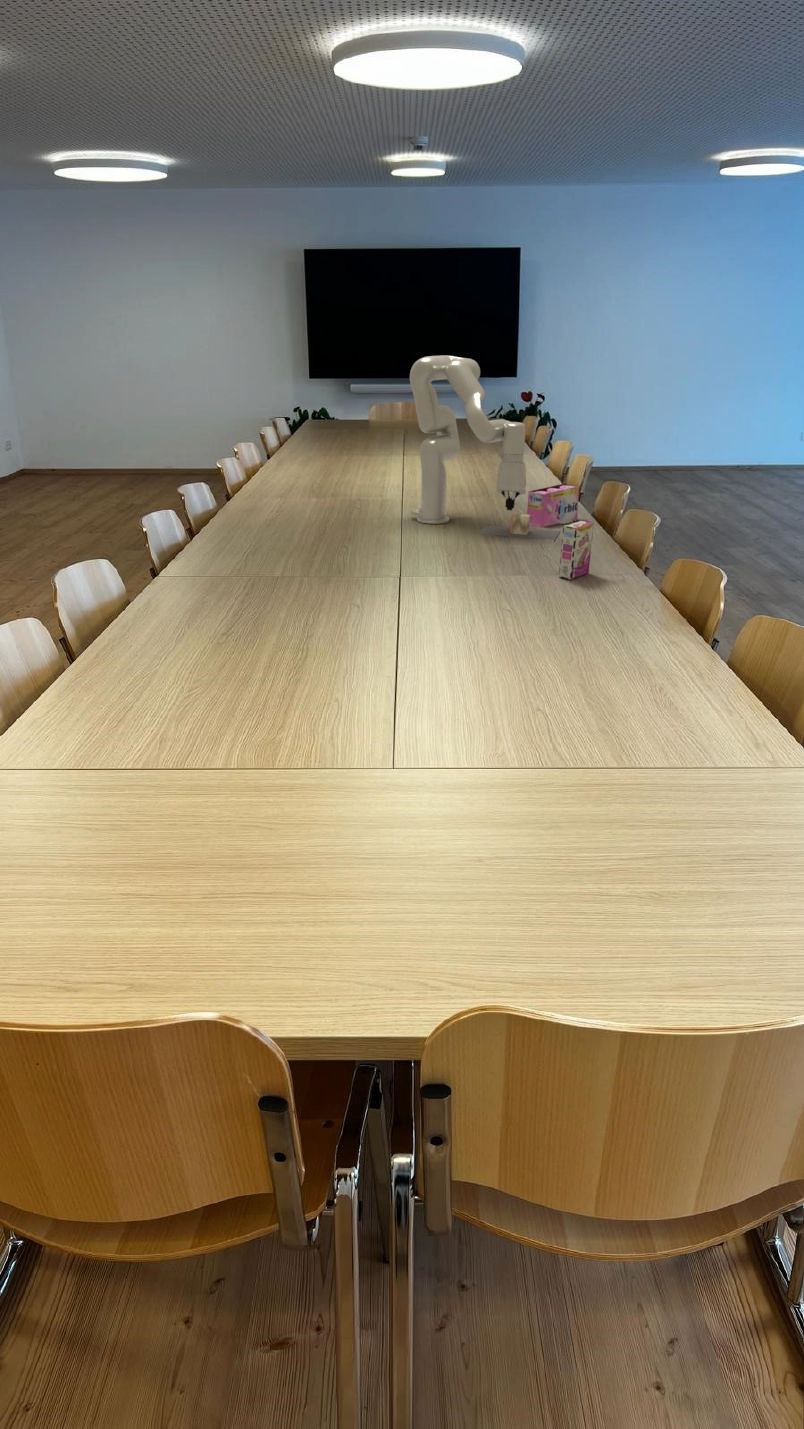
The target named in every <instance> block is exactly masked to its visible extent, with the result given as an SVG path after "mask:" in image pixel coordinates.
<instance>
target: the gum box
mask: <svg viewBox="0 0 804 1429" xmlns="http://www.w3.org/2000/svg"><path fill="white" fill-rule="evenodd" d="M579 495H580V486H579V485H577V486H573V485H572V486H571V485H568V484H567V483H561V484H560V483H559V484H556V485H551V486H547V487H542V488H537V489H532V490H528V494H527V507H526V508H527V509H526V510H527V511H526V515H530V522H529V526H534V527H537V528H538V527H539V528H545V527H550V526H553V525H557V524H563V525H566V523H567V524H571V523H574V522H573V521H575V522H577V521H578V514H579V510H578V509H579ZM576 520H577V521H576ZM570 522H571V523H570Z"/></svg>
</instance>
